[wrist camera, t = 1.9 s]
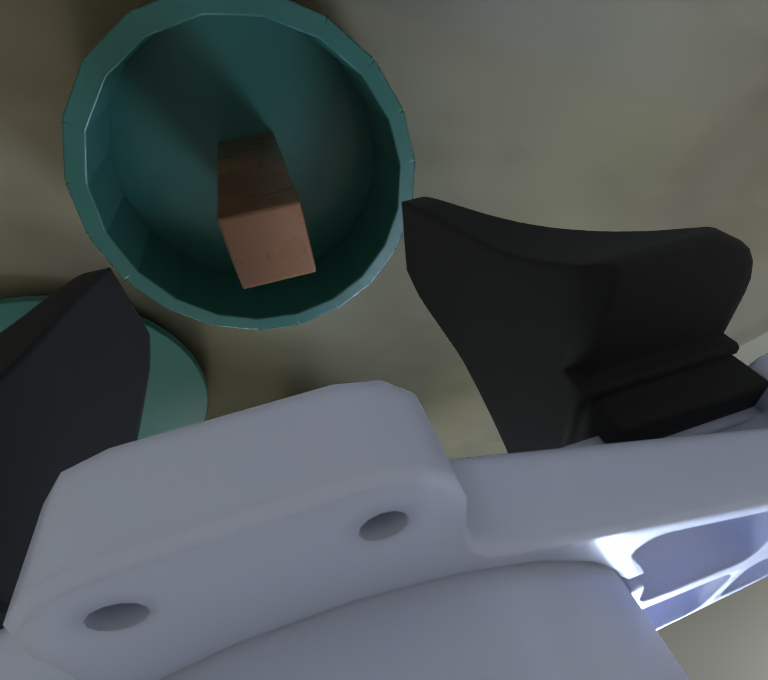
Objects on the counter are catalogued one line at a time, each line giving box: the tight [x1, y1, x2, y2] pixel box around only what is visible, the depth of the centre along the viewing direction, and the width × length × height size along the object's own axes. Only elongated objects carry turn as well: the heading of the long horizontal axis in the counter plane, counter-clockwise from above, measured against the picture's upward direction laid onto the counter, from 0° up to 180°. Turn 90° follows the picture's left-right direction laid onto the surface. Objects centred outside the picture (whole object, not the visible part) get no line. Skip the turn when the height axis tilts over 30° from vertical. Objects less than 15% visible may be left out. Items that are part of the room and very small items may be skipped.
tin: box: [61, 0, 415, 330], centre depth 16 cm, size 11×11×4 cm
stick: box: [217, 132, 316, 289], centre depth 15 cm, size 2×2×8 cm
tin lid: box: [0, 296, 208, 440], centre depth 21 cm, size 12×12×4 cm
